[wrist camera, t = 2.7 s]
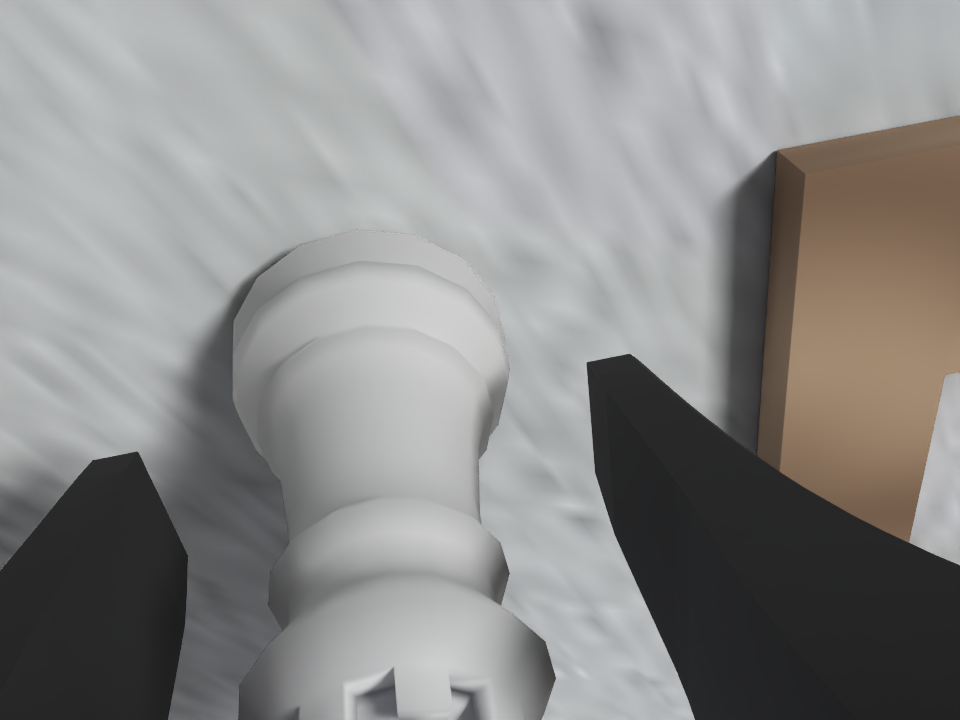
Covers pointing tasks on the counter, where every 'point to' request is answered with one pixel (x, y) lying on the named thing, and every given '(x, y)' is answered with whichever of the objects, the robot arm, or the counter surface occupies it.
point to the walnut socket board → (862, 315)
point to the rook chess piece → (381, 487)
